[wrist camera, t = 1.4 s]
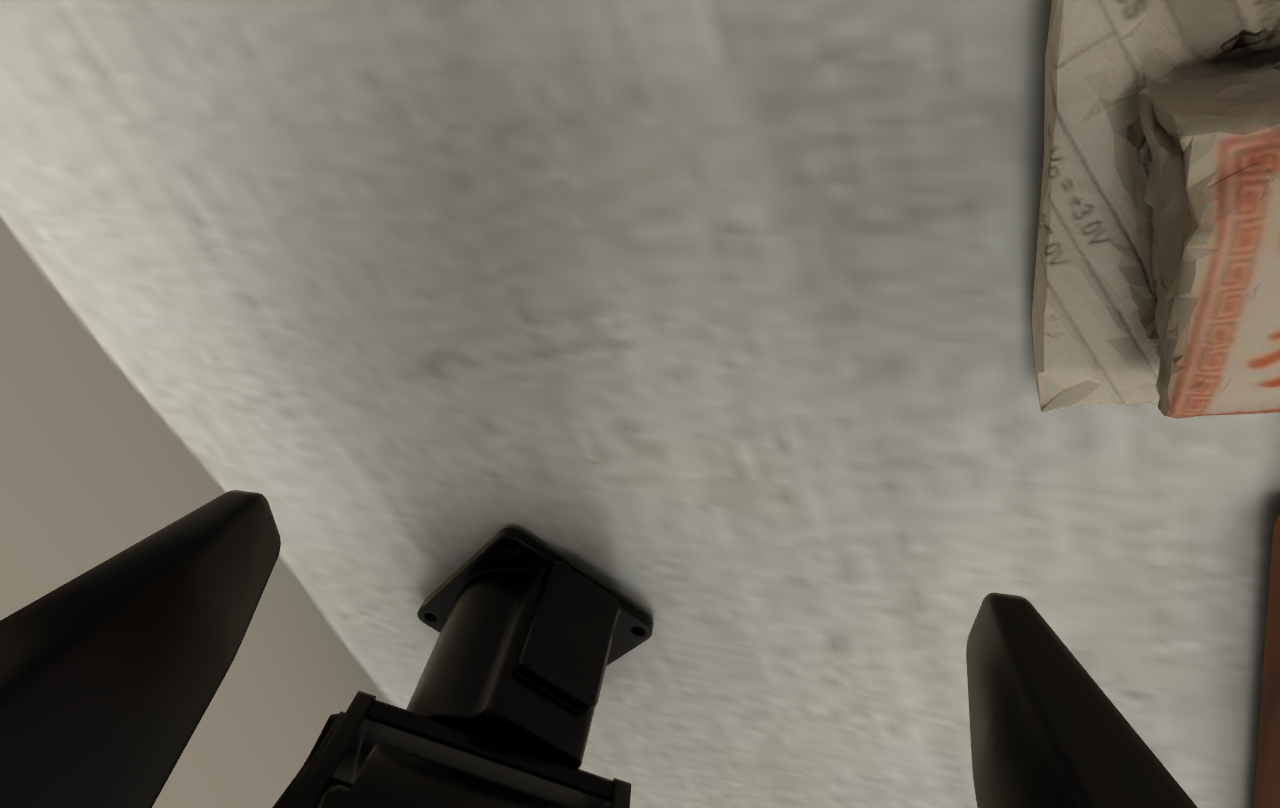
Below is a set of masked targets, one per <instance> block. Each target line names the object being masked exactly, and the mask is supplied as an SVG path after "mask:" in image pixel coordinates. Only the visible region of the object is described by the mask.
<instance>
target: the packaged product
mask: <svg viewBox="0 0 1280 808" xmlns="http://www.w3.org/2000/svg"><path fill="white" fill-rule="evenodd" d="M1032 332H1033V347H1034V362H1035V376H1036V385H1037V391H1038V397H1039V402H1040V408H1041V412H1043V411H1048V410H1054V409H1059V408H1065V407H1071V406H1081V405H1091V404H1101V403H1117V404H1124V405H1133V404H1141V403H1149V402H1157V401H1159V404H1158V408H1159V410H1160V411H1161V412H1162V414H1163V415H1164V416H1168V417H1173V418H1184V417H1193V416H1202V415H1231V414H1256V413H1273V412H1280V0H1052V6H1051V14H1050V22H1049V31H1048V39H1047V47H1046V56H1045V120H1044V161H1043V174H1042V188H1041V201H1040V214H1039V228H1038V241H1037V254H1036V267H1035V281H1034V294H1033V307H1032Z"/></svg>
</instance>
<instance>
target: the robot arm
mask: <svg viewBox="0 0 1280 808" xmlns="http://www.w3.org/2000/svg"><path fill="white" fill-rule="evenodd" d="M510 542H512V543H514V544H512V543H510ZM280 545H281V542H280V535H279V532H278V529H277V526H276V523H275V521H274V518H273V515H272V512H271V509H270V506H269V503H268V501H267V499H266V498H265V497H264V496H263V495H262V494H259V493H253V492H246V491H238V490H234V491H229V492H227V493H225V494H223V495H221V496H219V497H217V498H216V499H214V500H212V501H211V502H209V503H207V504H206V505H203V506H202V507H200V508H198V509H196V510H195V511H193V512H191V513H189V514H188V515H186V516H184V517H182V518H180V519H179V520H177V521H175V522H173V523H172V524H170V525H168V526H166V527H165V528H163V529H161V530H159V531H158V532H156V533H154V534H152V535H151V536H149V537H147V538H145V539H144V540H142V541H140V542H139V543H136V544H135V545H133V546H131V547H129V548H128V549H126V550H124V551H122V552H121V553H119V554H117V555H115V556H114V557H112V558H110V559H109V560H107V561H105V562H103V563H101V564H100V565H98V566H96V567H95V568H93V569H91V570H89V571H87V572H85V573H84V574H82V575H80V576H78V577H77V578H75V579H73V580H71V581H70V582H68V583H66V584H64V585H63V586H61V587H59V588H57V589H56V590H54V591H52V592H51V593H49V594H47V595H45V596H43V597H41V598H40V599H38V600H36V601H34V602H33V603H31V604H29V605H27V606H26V607H24V608H22V609H20V610H18V611H17V612H15V613H13V614H11V615H10V616H8V617H6V618H4V619H3V620H1V621H0V808H152V806H153V804H154V803H155V801H156V799H157V797H158V795H159V794H160V792H161V790H162V788H163V786H164V784H165V783H166V781H167V779H168V777H169V776H170V774H171V772H172V770H173V768H174V767H175V765H176V763H177V761H178V759H179V758H180V756H181V754H182V752H183V750H184V749H185V747H186V745H187V743H188V741H189V740H190V738H191V736H192V734H193V733H194V731H195V729H196V727H197V725H198V723H199V722H200V720H201V718H202V716H203V714H204V713H205V711H206V709H207V707H208V706H209V704H210V702H211V700H212V698H213V697H214V695H215V693H216V691H217V689H218V688H219V686H220V684H221V682H222V680H223V679H224V677H225V675H226V673H227V671H228V669H229V667H230V665H231V663H232V662H233V660H234V657H235V655H236V653H237V651H238V649H239V647H240V644H241V643H242V640H243V638H244V636H245V633H246V631H247V628H248V626H249V624H250V621H251V619H252V617H253V614H254V612H255V610H256V607H257V605H258V603H259V600H260V598H261V596H262V593H263V591H264V589H265V586H266V583H267V582H268V579H269V577H270V575H271V572H272V570H273V567H274V565H275V563H276V560H277V558H278V555H279V552H280ZM418 617H419V619H420V620H421V621H422V622H423V623H425V624H427V625H428V626H430V627H432V628H433V629H435V630H437V631H438V632H440V635H439V637H438V639H437V642H436V644H435V646H434V648H433V651H432V653H431V655H430V658H429V660H428V662H427V664H426V667H425V669H424V671H423V673H422V676H421V678H420V680H419V682H418V685H417V687H416V689H415V691H414V694H413V696H412V698H411V700H410V703H409V705H408V707H407V710H405V709H402V708H399V707H396V706H393V705H390V704H387V703H384V702H381V701H378V700H376V696H374V695H370V694H367V693H365V692H362V691H358V693H357V695H356V696H355V698H354V699H353V701H352V703H351V705H350V706H349V708H348V710H347V711H346V712H345V713H344V712H340V713H339V714H334V715H330V717H329V719H328V721H327V723H326V724H325V726H324V728H323V730H322V732H321V734H320V736H319V738H318V740H317V742H316V744H315V746H314V748H313V749H312V751H311V753H310V755H309V757H308V758H307V760H306V762H305V763H304V765H303V767H302V768H301V770H300V771H299V772H298V774H297V775H296V777H295V778H294V779H293V781H292V782H291V783H290V785H289V786H288V787H287V789H286V790H285V791H284V793H283V794H282V795H281V797H280V798H279V799H278V801H277V802H276V803H275V805H274V806H273V807H272V808H630V795H631V783H628V782H625V781H622V780H619V779H616V778H614V779H613V780H609V779H606V778H603V777H601V776H598V775H595V774H592V773H589V772H586V771H583V770H580V769H579V767H580V766H581V764H582V759H583V755H584V751H585V747H586V742H587V738H588V734H589V730H590V726H591V721H592V717H593V713H594V709H595V706H596V704H597V702H598V698H599V694H600V689H601V685H602V681H603V677H604V673H605V668H606V666H607V665H609V664H610V663H612V662H613V661H615V660H616V659H618V658H619V657H621V656H623V655H624V654H626V653H627V652H629V651H630V650H632V649H633V648H635V647H636V646H638V645H639V644H641V643H642V642H644V641H645V640H647V639H649V638H650V636H651V635H652V629H653V620H652V619H651V618H650V617H649V616H648V615H646V614H645V613H643V612H642V611H640V610H639V609H637V608H636V607H634V606H633V605H631V604H630V603H628V602H627V601H625V600H624V599H622V598H621V597H619V596H618V595H616V594H615V593H613V592H612V591H610V590H609V589H607V588H606V587H604V586H603V585H601V584H600V583H598V582H597V581H595V580H594V579H592V578H591V577H589V576H588V575H586V574H585V573H583V572H582V571H580V570H579V569H577V568H576V567H574V566H573V565H571V564H570V563H568V562H567V561H565V560H564V559H562V558H561V557H559V556H558V555H556V554H555V553H553V552H552V551H550V550H549V549H547V548H546V547H544V546H543V545H541V544H540V543H538V542H537V541H535V540H534V539H532V538H531V537H529V536H528V535H526V534H525V533H523V532H522V531H520V530H518V529H515V528H505V529H503V530H501V531H500V532H499V533H498V534H497V535H496V536H495V537H494V538H493V539H492V540H490V541H489V542H488V543H487V544H486V545H485V546H484V547H483V548H482V549H481V550H479V551H478V552H477V553H476V554H475V555H474V556H473V557H472V558H471V559H470V560H469V561H467V562H466V563H465V564H464V565H463V566H462V567H461V568H460V569H459V570H458V571H456V572H455V573H454V574H453V575H452V576H451V577H450V578H449V579H448V580H447V581H445V582H444V583H443V584H442V585H441V586H440V587H439V588H438V589H437V590H436V591H434V592H433V593H432V594H431V595H430V596H429V597H428V598H427V599H426V600H425V601H424V602H423V603H422V605H421V607H420V609H419V611H418ZM966 658H967V676H968V695H969V714H970V732H971V751H972V767H973V780H974V787H975V794H976V801H977V807H978V808H1197V806H1196V805H1195V804H1194V803H1193V801H1192V800H1191V799H1190V798H1189V797H1188V795H1187V794H1186V793H1185V792H1184V790H1183V789H1182V788H1181V787H1180V786H1179V784H1178V783H1177V782H1176V781H1175V779H1174V778H1173V777H1172V776H1171V775H1170V773H1169V772H1168V771H1167V770H1166V768H1165V767H1164V766H1163V765H1162V763H1161V762H1160V761H1159V760H1158V759H1157V757H1156V756H1155V755H1154V754H1153V752H1152V751H1151V750H1150V749H1149V748H1148V746H1147V745H1146V744H1145V743H1144V741H1143V740H1142V739H1141V738H1140V737H1139V735H1138V734H1137V733H1136V732H1135V730H1134V729H1133V728H1132V727H1131V726H1130V724H1129V723H1128V722H1127V721H1126V719H1125V718H1124V717H1123V716H1122V714H1121V713H1120V712H1119V711H1118V710H1117V708H1116V707H1115V706H1114V705H1113V703H1112V702H1111V701H1110V700H1109V699H1108V697H1107V696H1106V695H1105V694H1104V692H1103V691H1102V690H1101V689H1100V688H1099V686H1098V685H1097V684H1096V683H1095V681H1094V680H1093V679H1092V678H1091V676H1090V675H1089V674H1088V673H1087V672H1086V670H1085V669H1084V668H1083V667H1082V665H1081V664H1080V663H1079V662H1078V661H1077V659H1076V658H1075V657H1074V656H1073V654H1072V653H1071V652H1070V651H1069V650H1068V648H1067V647H1066V646H1065V645H1064V643H1063V642H1062V641H1061V640H1060V638H1059V637H1058V636H1057V635H1056V634H1055V632H1054V631H1053V630H1052V629H1051V627H1050V626H1049V625H1048V624H1047V623H1046V621H1045V620H1044V619H1043V618H1042V616H1041V615H1040V614H1039V613H1038V612H1037V610H1036V609H1035V608H1034V607H1033V605H1032V604H1031V603H1030V602H1029V601H1028V600H1026V599H1025V598H1023V597H1021V596H1015V595H1007V594H1000V593H990V594H988V595H987V596H986V597H985V598H984V600H983V602H982V605H981V607H980V609H979V612H978V614H977V617H976V619H975V622H974V624H973V627H972V629H971V631H970V634H969V637H968V641H967V651H966Z"/></svg>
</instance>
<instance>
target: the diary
mask: <svg viewBox="0 0 1280 808" xmlns="http://www.w3.org/2000/svg"><path fill="white" fill-rule="evenodd" d="M1254 808H1280V515H1279V517H1278V518H1277V519H1276V521H1275V522H1274V524H1273V539H1272V553H1271V567H1270V581H1269V595H1268V610H1267V624H1266V638H1265V652H1264V666H1263V681H1262V695H1261V709H1260V723H1259V737H1258V752H1257V766H1256V780H1255V794H1254Z"/></svg>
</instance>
